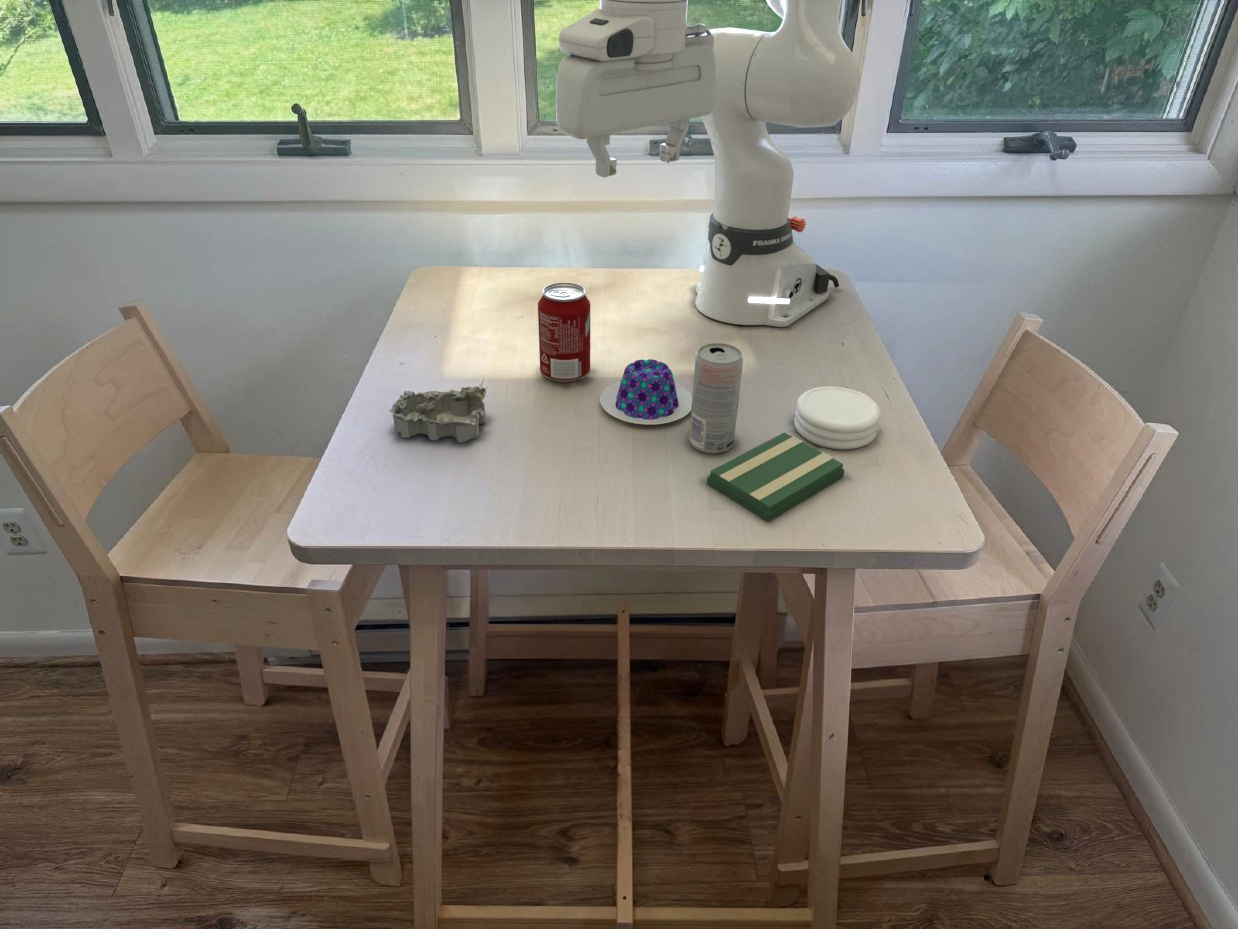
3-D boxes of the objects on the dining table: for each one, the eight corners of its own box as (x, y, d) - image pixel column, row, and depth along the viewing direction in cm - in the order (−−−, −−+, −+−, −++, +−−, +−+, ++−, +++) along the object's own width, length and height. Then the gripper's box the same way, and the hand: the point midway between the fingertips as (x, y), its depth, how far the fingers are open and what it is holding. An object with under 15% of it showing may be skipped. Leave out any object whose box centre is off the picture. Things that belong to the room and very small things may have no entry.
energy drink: (726, 429, 107) (736, 340, 100) (739, 453, 102) (749, 362, 95) (684, 432, 106) (690, 343, 99) (694, 456, 101) (702, 365, 95)
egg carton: (491, 415, 108) (490, 386, 106) (473, 447, 102) (471, 418, 100) (410, 406, 110) (406, 377, 107) (387, 437, 103) (383, 407, 101)
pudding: (589, 387, 114) (589, 352, 111) (675, 377, 117) (678, 342, 114) (614, 435, 105) (614, 397, 102) (707, 422, 108) (710, 385, 105)
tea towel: (782, 443, 104) (784, 430, 103) (843, 477, 99) (846, 463, 98) (706, 483, 97) (707, 469, 96) (767, 522, 92) (770, 507, 90)
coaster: (804, 452, 103) (809, 427, 101) (785, 409, 111) (788, 385, 109) (887, 450, 103) (893, 425, 101) (861, 407, 112) (866, 383, 110)
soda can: (583, 388, 114) (583, 303, 107) (534, 382, 115) (530, 298, 108) (595, 365, 120) (595, 283, 113) (547, 359, 121) (545, 278, 114)
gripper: (693, 18, 96) (685, 147, 104) (545, 34, 85) (548, 177, 93) (735, 25, 92) (723, 158, 100) (585, 43, 81) (586, 191, 89)
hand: (638, 167), depth 96 cm, fingers open, 8 cm apart
